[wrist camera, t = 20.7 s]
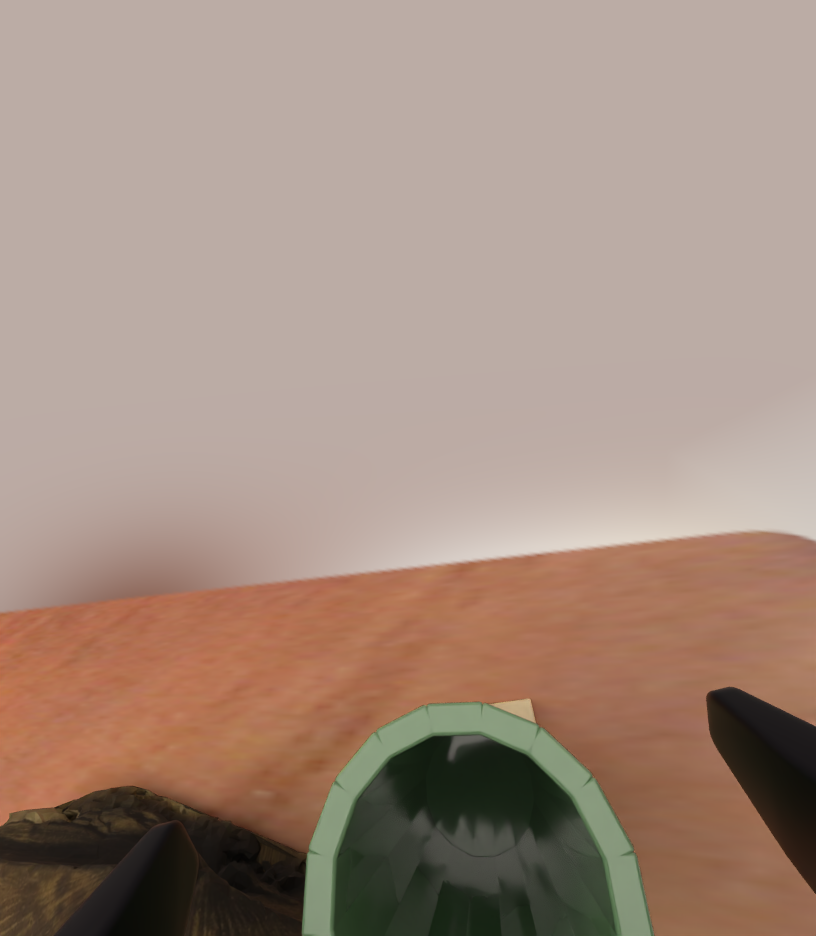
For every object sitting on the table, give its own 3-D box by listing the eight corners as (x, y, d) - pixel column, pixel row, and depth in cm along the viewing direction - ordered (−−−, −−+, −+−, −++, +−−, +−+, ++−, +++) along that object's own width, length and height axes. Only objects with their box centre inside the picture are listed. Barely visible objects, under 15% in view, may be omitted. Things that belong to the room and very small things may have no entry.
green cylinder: (451, 895, 16) (374, 1283, 5) (397, 747, 19) (266, 785, 8) (570, 828, 17) (745, 1047, 5) (502, 692, 19) (526, 651, 8)
